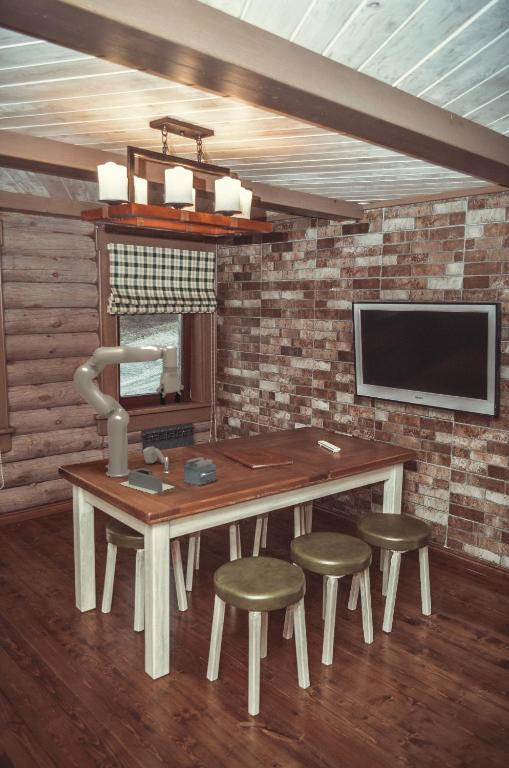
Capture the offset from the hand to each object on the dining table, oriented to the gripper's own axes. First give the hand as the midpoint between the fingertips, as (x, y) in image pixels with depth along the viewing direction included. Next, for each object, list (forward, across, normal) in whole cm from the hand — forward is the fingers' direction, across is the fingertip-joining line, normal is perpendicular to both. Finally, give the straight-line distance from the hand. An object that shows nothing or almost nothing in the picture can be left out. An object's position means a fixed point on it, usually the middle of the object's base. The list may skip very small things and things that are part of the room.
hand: (170, 403), depth 298 cm
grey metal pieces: (+36, 0, +11) cm, 38 cm away
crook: (+36, +21, +10) cm, 43 cm away
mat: (+36, +22, +8) cm, 43 cm away
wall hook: (+36, -8, -22) cm, 43 cm away
